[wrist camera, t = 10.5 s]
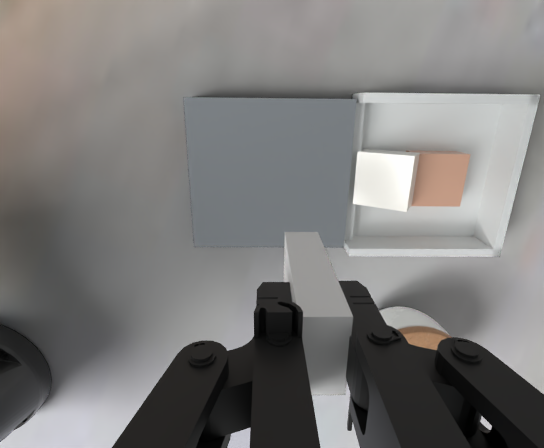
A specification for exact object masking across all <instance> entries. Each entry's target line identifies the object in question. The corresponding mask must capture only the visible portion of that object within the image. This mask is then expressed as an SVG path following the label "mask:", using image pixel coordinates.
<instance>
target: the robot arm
mask: <svg viewBox="0 0 544 448" xmlns="http://www.w3.org/2000/svg"><path fill="white" fill-rule="evenodd" d="M347 383H348V386H349V390H350V403H349V412H348V422H347V429H348V431H351V430H352V422H353V424H354V428H355V431H356V435H357V438H358V442H359V446H360V448H544V394H542V393H541V392H540V391H539V390H537V389H536V388H535V387H533V386H532V385H531V384H530V383H528V382H527V381H526V380H525V379H523V378H522V377H521V376H520V375H518V374H517V373H516V372H514V371H513V370H512V369H511V368H509V367H508V366H507V365H506V364H504V363H503V362H502V361H501V360H499V359H498V358H497V357H496V356H494V355H493V354H492V353H490V352H489V351H488V350H487V349H485V348H483V347H482V346H480V345H479V344H477V343H474V342H472V341H469V340H467V339H462V338H446V339H443V340H441V341H440V343H439V344H438V347H437V350H433V349H428V348H423V347H419V346H415V345H411V344H409V343H408V341H407V340H406V338H405V337H404V335H403V334H402V333H401V332H400V331H398V330H397V329H395V328H393V327H392V326H389V325H387V324H386V322H385V321H384V319H383V317H382V315H381V313H380V312H379V310H378V308H377V306H376V304H374V301H373V299H372V298H371V295H370V294H369V292H368V290H367V288H366V287H364V286H363V285H362V284H360V283H359V282H358V281H338V279H337V277H336V274H335V272H334V270H333V267H332V265H331V262H330V260H329V258H328V255H327V253H326V250H325V248H324V246H323V243H322V241H321V238H320V236H319V234H318V232H285V243H284V282H263V283H262V284H261V285H260V286H259V288H258V289H257V306H256V309H255V311H254V337H253V338H252V340H251V341H250V342H249V343H247V344H246V345H244V346H242V347H240V348H237V349H233V350H229V351H227V350H226V348H225V347H224V346H223V345H221V344H220V343H217V342H214V341H199V342H194V343H192V344H190V345H188V346H186V347H184V348H183V349H182V350H181V351H180V352H179V353H178V354H177V356H176V357H175V358H174V360H173V361H172V363H171V364H170V366H169V367H168V368H167V370H166V371H165V373H164V374H163V376H162V377H161V378H160V380H159V381H158V383H157V384H156V386H155V387H154V388H153V390H152V391H151V393H150V394H149V396H148V397H147V398H146V400H145V401H144V403H143V404H142V406H141V407H140V408H139V410H138V411H137V413H136V414H135V416H134V417H133V418H132V420H131V421H130V423H129V424H128V426H127V427H126V428H125V430H124V431H123V433H122V434H121V435H120V437H119V438H118V440H117V441H116V443H115V444H114V445H113V447H112V448H227V446H228V443H229V441H230V436H231V434H232V433H235V432H238V431H241V430H244V429H247V428H250V427H251V432H250V448H320V443H319V437H318V431H317V425H316V419H315V413H314V407H313V401H312V395H345V394H346V384H347ZM50 388H51V374H50V370H49V367H48V365H47V362H46V361H45V359H44V357H43V356H42V354H41V353H40V352H39V350H38V349H37V348H36V347H35V346H34V345H33V344H32V343H31V342H30V341H28V340H27V339H26V338H25V337H23V336H22V335H20V334H18V333H17V332H15V331H13V330H11V329H9V328H7V327H4V326H2V325H0V442H1V441H2V440H3V439H4V438H6V437H7V436H8V435H9V434H10V433H11V432H12V431H13V430H15V429H17V428H19V427H21V426H22V425H23V424H25V423H26V422H27V421H29V420H30V419H31V418H32V417H33V416H34V414H35V413H36V412H37V411H38V409H39V408H40V407H41V405H42V404H43V403H44V401H45V400H46V398H47V397H48V394H49V392H50ZM481 416H483V417H484V418H485V419H486V420H487V421H488V422H489V423H490V424H491V425H492V429H491V430H488V429H487V428H486V427H485V426H484V425H483V424H482V423H481V422H480V420H481Z"/></svg>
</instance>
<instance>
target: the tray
mask: <svg viewBox="0 0 544 448" xmlns="http://www.w3.org/2000/svg"><path fill="white" fill-rule="evenodd" d="M352 99H357V101H356V113H355V125H354V136H353V148H352V159H351V171H350V183H349V194H348V206H347V218H346V229H345V241H344V248H345V250H346V252H347V254H348V256H441V257H500V254H501V250H502V246H503V242H504V238H505V234H506V230H507V226H508V222H509V218H510V214H511V210H512V206H513V202H514V198H515V194H516V190H517V187H518V183H519V179H520V175H521V171H522V167H523V163H524V159H525V155H526V151H527V147H528V143H529V139H530V135H531V131H532V127H533V123H534V119H535V115H536V111H537V107H538V103H539V99H540V95H539V94H450V93H356V94H352ZM364 149H373V150H387V151H401V152H406V150H424V151H459V152H463V153H467V154H470V159H469V164H468V169H467V174H466V179H465V184H464V189H463V194H462V199H461V204H460V207H449V206H411V207H410V208H409V210H408V211H407V212H403V211H396V210H390V209H383V208H377V207H370V206H364V205H357V204H353V196H354V185H355V174H356V163H357V152H358V151H361V150H364Z"/></svg>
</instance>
